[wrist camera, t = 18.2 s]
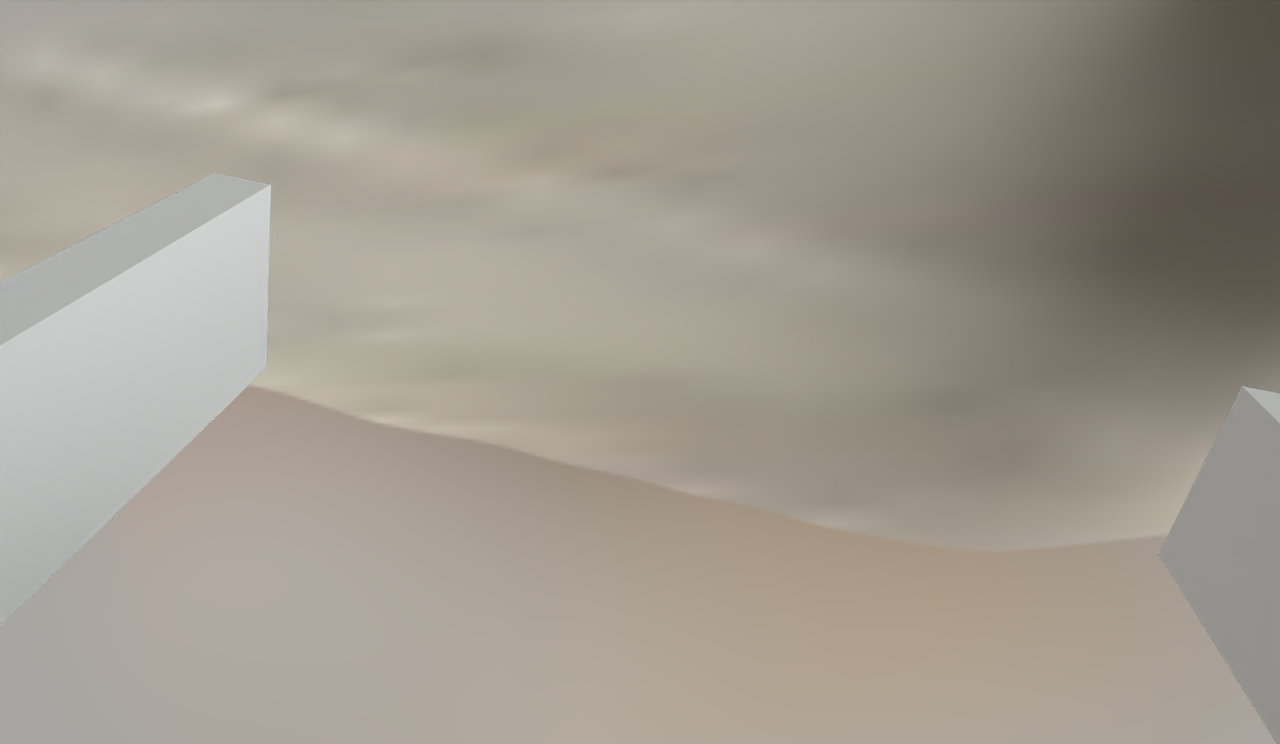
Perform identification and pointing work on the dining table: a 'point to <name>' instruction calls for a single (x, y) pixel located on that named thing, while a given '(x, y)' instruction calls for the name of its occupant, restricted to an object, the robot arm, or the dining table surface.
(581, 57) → the dining table surface
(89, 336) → the robot arm
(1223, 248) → the dining table surface
